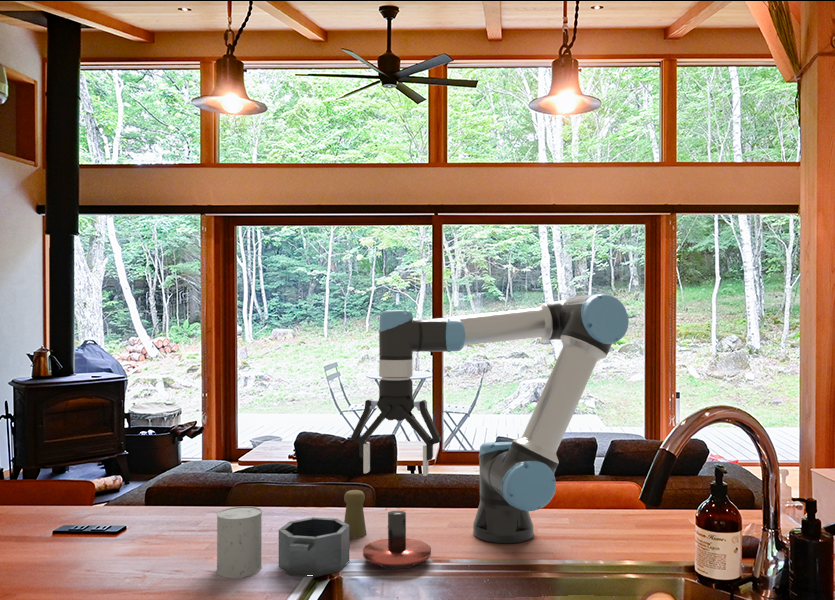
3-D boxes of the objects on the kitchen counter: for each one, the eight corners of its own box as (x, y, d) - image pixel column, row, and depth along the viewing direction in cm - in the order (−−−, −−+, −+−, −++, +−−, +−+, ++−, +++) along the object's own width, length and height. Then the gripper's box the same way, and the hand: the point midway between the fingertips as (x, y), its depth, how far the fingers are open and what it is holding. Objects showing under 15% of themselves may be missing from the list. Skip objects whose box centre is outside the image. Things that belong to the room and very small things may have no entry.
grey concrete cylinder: (221, 562, 147) (222, 507, 147) (264, 560, 148) (265, 505, 148) (212, 578, 137) (212, 519, 138) (258, 577, 138) (258, 518, 139)
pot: (357, 551, 153) (357, 516, 153) (331, 582, 135) (331, 543, 135) (299, 547, 156) (299, 513, 156) (266, 577, 138) (266, 539, 138)
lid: (436, 553, 152) (436, 505, 152) (424, 578, 137) (423, 525, 137) (373, 549, 155) (372, 502, 155) (354, 573, 140) (354, 521, 140)
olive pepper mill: (362, 539, 162) (362, 494, 162) (339, 537, 163) (339, 493, 163) (369, 531, 168) (369, 488, 168) (346, 530, 169) (346, 487, 169)
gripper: (453, 377, 149) (453, 472, 148) (347, 376, 153) (347, 467, 153) (448, 380, 141) (448, 479, 140) (337, 378, 146) (337, 474, 145)
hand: (395, 473), depth 147 cm, fingers open, 13 cm apart
